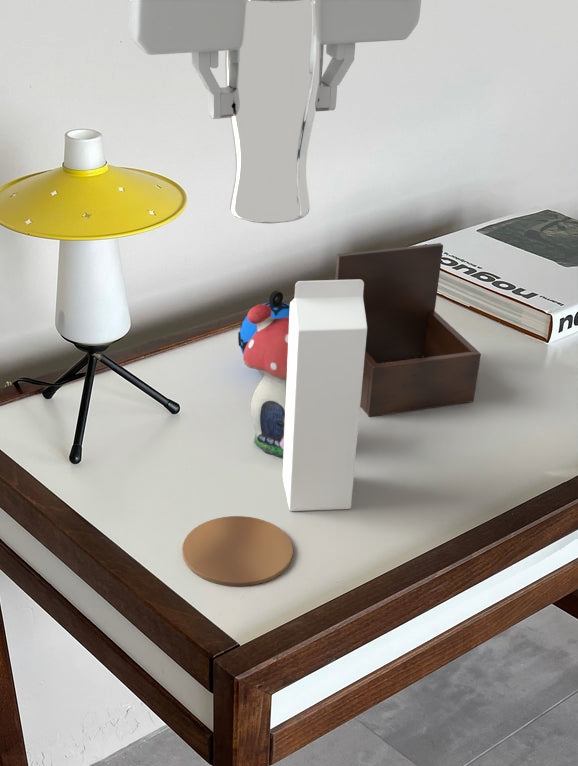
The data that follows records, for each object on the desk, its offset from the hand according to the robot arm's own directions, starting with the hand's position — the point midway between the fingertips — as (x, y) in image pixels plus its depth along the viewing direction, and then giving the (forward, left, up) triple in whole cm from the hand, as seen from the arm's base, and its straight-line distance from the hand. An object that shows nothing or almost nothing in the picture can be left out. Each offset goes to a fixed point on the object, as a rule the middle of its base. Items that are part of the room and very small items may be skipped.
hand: (272, 113), depth 73 cm
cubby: (-24, -23, -37) cm, 50 cm away
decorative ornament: (-7, -14, -37) cm, 40 cm away
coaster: (+3, +3, -37) cm, 37 cm away
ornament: (-11, -30, -37) cm, 49 cm away
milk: (-7, -4, -37) cm, 38 cm away
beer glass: (0, 0, -7) cm, 7 cm away
